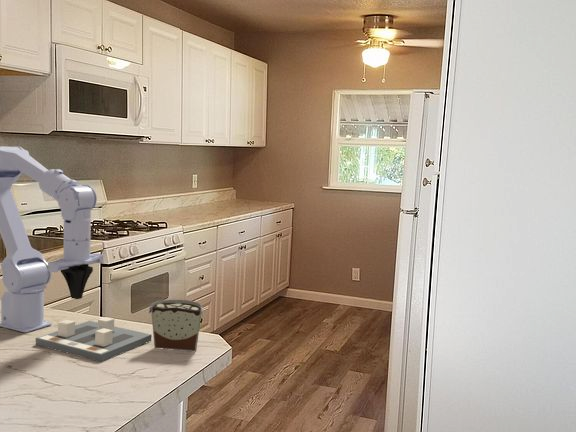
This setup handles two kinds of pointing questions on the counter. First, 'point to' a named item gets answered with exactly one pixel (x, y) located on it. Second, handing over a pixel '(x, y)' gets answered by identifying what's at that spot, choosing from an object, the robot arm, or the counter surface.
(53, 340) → the switch board
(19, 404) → the counter surface
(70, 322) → the beige small block
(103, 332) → the tab
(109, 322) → the tab
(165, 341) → the food container
